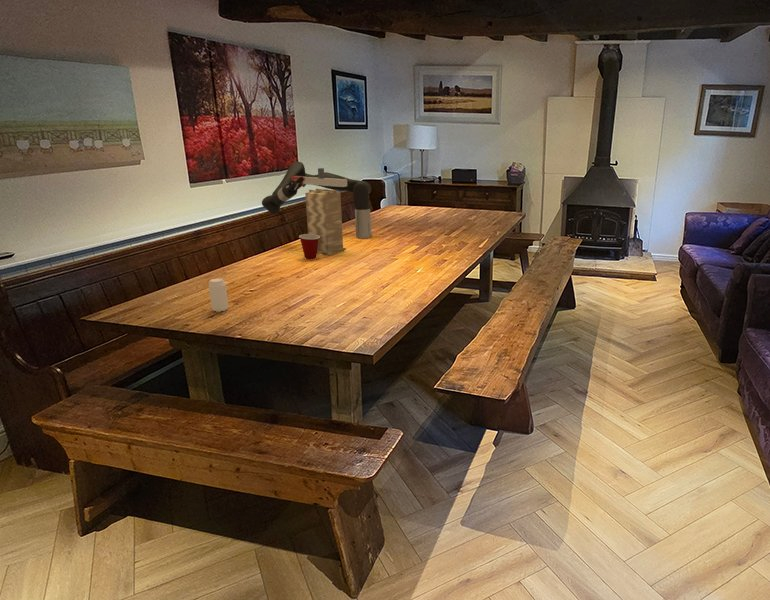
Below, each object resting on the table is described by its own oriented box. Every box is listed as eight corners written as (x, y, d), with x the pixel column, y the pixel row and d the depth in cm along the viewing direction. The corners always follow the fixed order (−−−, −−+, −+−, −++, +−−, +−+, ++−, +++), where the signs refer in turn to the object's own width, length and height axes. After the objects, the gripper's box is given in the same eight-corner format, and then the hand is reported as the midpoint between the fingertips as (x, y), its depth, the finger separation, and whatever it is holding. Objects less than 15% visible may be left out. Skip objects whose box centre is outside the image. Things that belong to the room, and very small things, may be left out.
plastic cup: (317, 261, 273) (316, 237, 269) (297, 260, 275) (295, 237, 271) (324, 256, 283) (322, 233, 279) (304, 255, 285) (303, 233, 281)
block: (292, 183, 291) (290, 167, 288) (297, 182, 294) (296, 166, 291) (342, 187, 271) (341, 169, 268) (347, 186, 274) (346, 169, 271)
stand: (306, 252, 292) (302, 190, 281) (324, 247, 302) (320, 187, 292) (328, 255, 282) (325, 192, 272) (345, 250, 293) (342, 189, 283)
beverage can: (208, 312, 202) (204, 282, 198) (216, 307, 208) (212, 277, 204) (224, 313, 201) (220, 282, 197) (231, 307, 207) (227, 277, 203)
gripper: (274, 187, 292) (293, 172, 281) (293, 184, 303) (311, 170, 292) (280, 199, 292) (299, 185, 281) (299, 196, 303) (317, 182, 292)
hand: (305, 177), depth 287 cm, fingers closed on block, 4 cm apart
